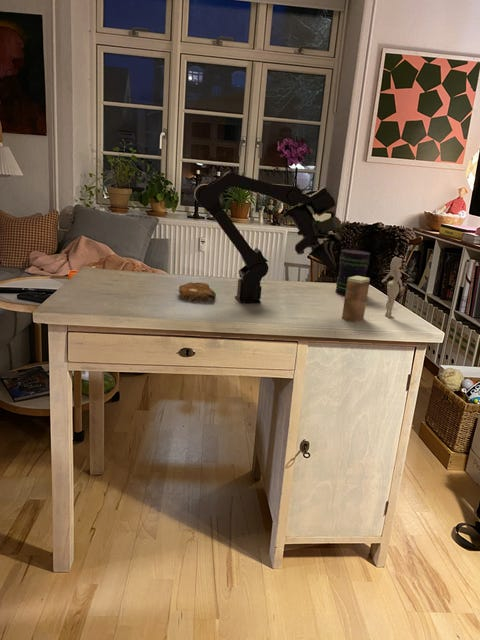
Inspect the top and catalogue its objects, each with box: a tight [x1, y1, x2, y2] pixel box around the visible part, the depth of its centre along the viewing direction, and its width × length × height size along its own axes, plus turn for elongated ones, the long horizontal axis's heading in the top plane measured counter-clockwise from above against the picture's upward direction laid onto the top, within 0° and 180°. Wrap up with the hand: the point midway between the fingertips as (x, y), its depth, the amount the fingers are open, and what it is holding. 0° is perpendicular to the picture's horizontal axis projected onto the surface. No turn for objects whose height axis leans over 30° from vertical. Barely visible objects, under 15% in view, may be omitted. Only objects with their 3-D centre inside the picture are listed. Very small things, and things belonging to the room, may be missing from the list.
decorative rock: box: [178, 281, 217, 303], centre depth 154 cm, size 11×4×15 cm
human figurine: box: [381, 256, 406, 319], centre depth 149 cm, size 12×4×18 cm, turn 12°
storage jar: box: [335, 248, 371, 297], centre depth 175 cm, size 10×10×15 cm
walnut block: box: [341, 276, 371, 323], centre depth 144 cm, size 4×6×12 cm, turn 142°
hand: (334, 267), depth 146 cm, fingers closed
